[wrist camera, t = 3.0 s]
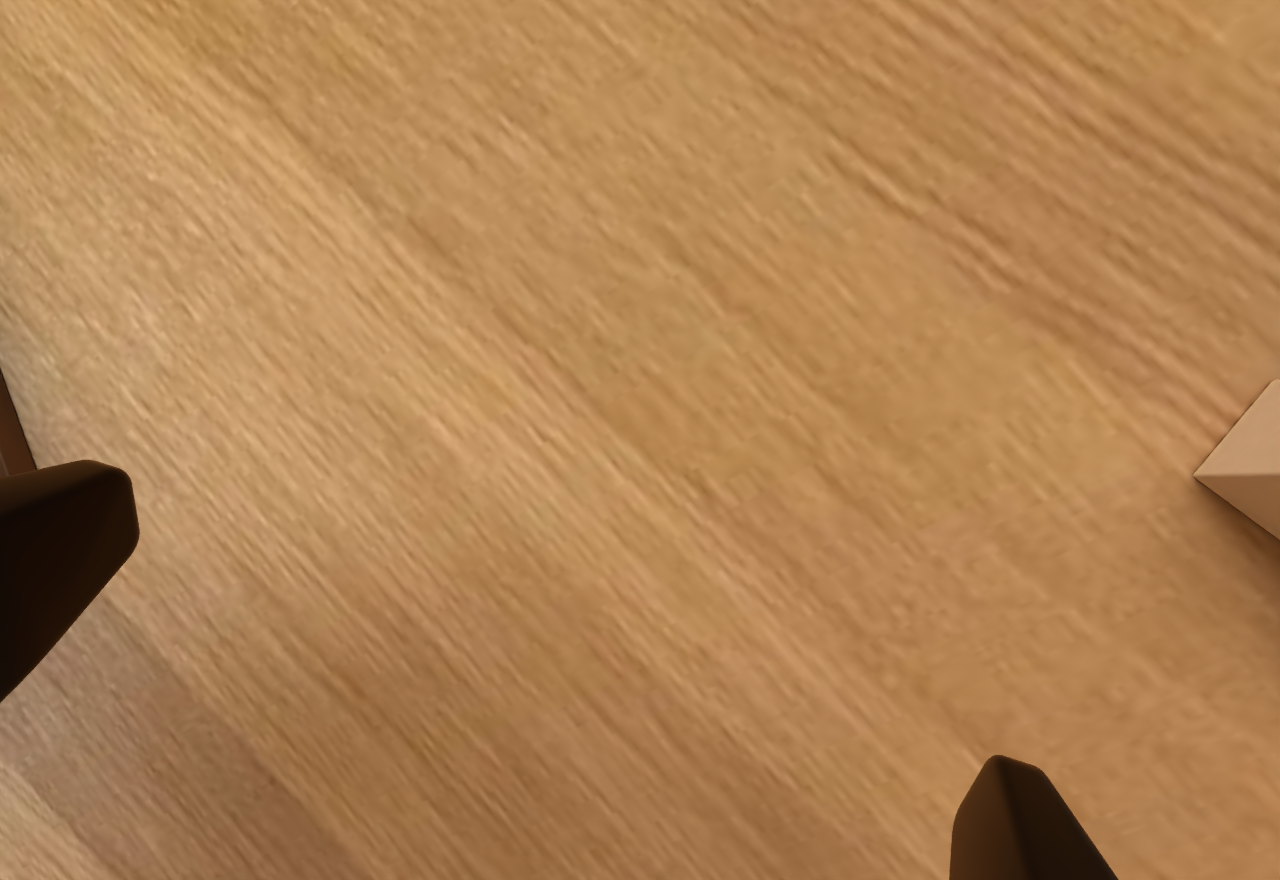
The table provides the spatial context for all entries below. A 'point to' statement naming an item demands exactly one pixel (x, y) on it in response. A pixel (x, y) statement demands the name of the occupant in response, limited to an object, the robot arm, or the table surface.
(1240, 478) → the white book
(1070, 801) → the table surface
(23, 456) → the book trough
